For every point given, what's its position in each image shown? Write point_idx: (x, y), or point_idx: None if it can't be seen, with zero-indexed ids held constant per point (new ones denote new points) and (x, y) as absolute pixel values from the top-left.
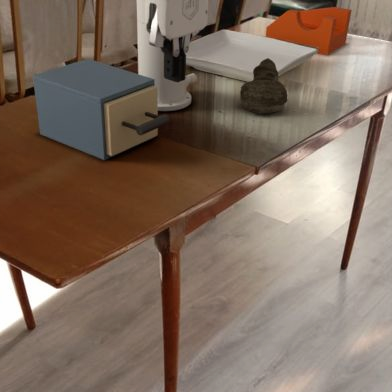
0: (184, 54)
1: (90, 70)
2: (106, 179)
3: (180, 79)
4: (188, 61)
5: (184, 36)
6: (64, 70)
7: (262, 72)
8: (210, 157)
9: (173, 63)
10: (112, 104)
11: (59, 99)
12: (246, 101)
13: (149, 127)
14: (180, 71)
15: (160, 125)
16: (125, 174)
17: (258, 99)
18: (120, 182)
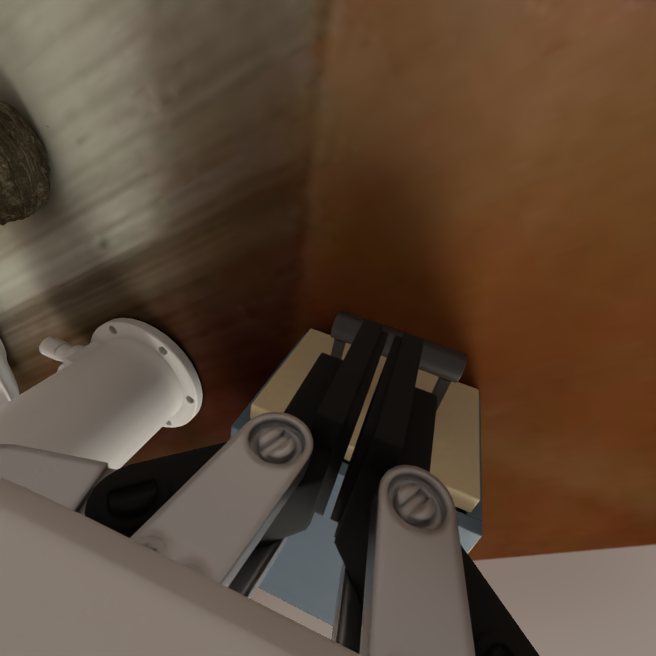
0: (326, 423)
1: (282, 563)
2: (597, 364)
3: (410, 338)
4: (5, 375)
5: (232, 567)
6: (317, 605)
7: None
8: (338, 151)
9: (423, 444)
10: (463, 491)
11: None
12: (34, 189)
13: (434, 347)
14: (407, 366)
15: (381, 324)
16: (548, 330)
17: (7, 152)
18: (609, 326)
